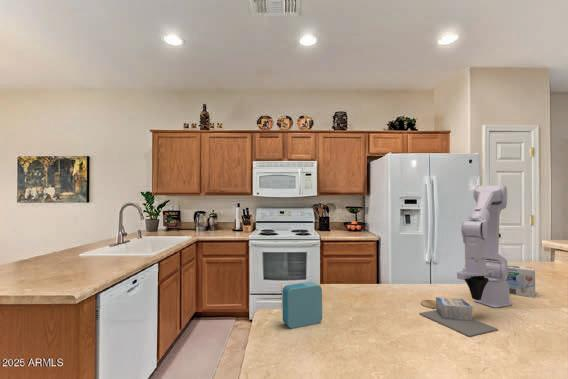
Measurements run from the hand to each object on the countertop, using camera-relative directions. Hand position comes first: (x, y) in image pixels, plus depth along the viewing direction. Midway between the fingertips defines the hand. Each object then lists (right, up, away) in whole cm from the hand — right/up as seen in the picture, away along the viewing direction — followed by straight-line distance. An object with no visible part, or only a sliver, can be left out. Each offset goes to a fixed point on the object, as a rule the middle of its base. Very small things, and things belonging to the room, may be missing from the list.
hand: (476, 299), depth 97 cm
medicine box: (-3, -3, 0) cm, 4 cm away
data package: (-57, -6, -4) cm, 58 cm away
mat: (-9, -6, -4) cm, 11 cm away
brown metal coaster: (-9, -6, +11) cm, 16 cm away
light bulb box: (+33, -7, +24) cm, 41 cm away
